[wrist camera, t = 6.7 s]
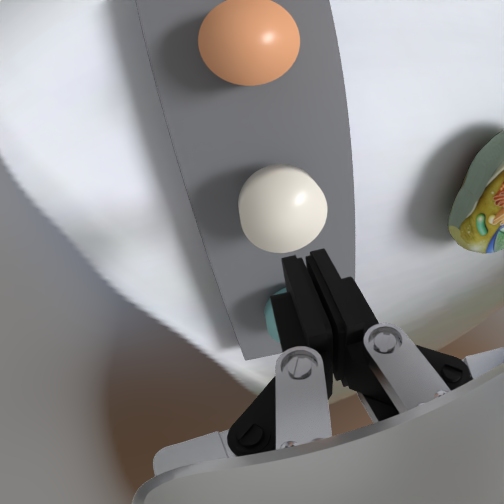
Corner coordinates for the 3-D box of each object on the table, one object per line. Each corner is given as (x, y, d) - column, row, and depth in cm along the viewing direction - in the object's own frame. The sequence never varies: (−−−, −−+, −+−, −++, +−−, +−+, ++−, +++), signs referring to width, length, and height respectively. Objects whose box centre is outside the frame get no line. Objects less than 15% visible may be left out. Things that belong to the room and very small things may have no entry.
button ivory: (229, 174, 16) (231, 184, 14) (314, 156, 16) (323, 165, 14) (247, 245, 18) (250, 260, 17) (321, 228, 18) (329, 242, 17)
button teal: (259, 293, 21) (262, 308, 20) (323, 278, 21) (329, 293, 20) (269, 334, 24) (272, 349, 23) (325, 321, 24) (330, 335, 22)
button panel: (138, -15, 11) (130, -24, 10) (305, -44, 11) (314, -54, 10) (243, 343, 28) (245, 360, 27) (345, 319, 28) (352, 335, 26)
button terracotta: (191, 13, 11) (188, 6, 10) (282, -2, 11) (289, -9, 10) (210, 93, 14) (210, 95, 12) (299, 77, 14) (307, 77, 12)
